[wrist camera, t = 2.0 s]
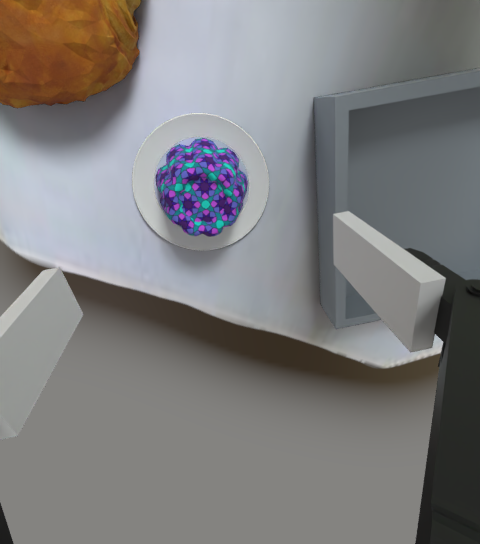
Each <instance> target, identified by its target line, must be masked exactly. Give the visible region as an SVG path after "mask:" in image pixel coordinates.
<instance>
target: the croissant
mask: <svg viewBox="0 0 480 544" xmlns="http://www.w3.org/2000/svg"><path fill="white" fill-rule="evenodd" d="M140 3H141V0H0V103H2V104H3V105H10V106H12V107H15V108H22V107H26V106H30V105H39V104H47V105H50V106H52V105H53V104H55V103H58V104H68V103H71V102H74V101H76V100H77V101H85V100H86V98H87V97H88V96H91V95H94V94H97V93H99V92H102V91H106V90H107V89H109V88H110V87H111V86H113V85H114V84H116V83H118V82H120V81H121V80H122V79H124V78H125V77H126V75H127V74H128V73H129V71H130V70H131V69H132V65H133V63H134V61H135V59H136V58H137V56H138V55H139V52H140V51H139V50H138V48H137V41H138V38H139V35H138V23H137V21H136V19H135V17H134V15H133V14H134V11H135V9H136V8H137V7H139V6H140Z"/></svg>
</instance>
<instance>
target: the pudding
mask: <svg viewBox="0 0 480 544" xmlns="http://www.w3.org/2000/svg"><path fill="white" fill-rule="evenodd" d="M193 137H207V138H212V139H215V140H218V141H221V142H222V143H224V144H226V145H228V146H229V147H230V148H231V149H232V150H234V151H235V152H236V153H237V155H238V156H239V157H240V158H241V160H242V162H243V164H244V165H245V168H246V171H247V174H248V179H249V193H248V199H247V201H246V204H245V206H244V208H243V210H242V212H241V213H240V210H241V208H242V206H243V203H242V201H243V198H244V196H245V194H246V191H247V185H248V181H247V178H246V175H245V174H244V173H243V172H242V171H240V170H239V159H238V158H237V156H236V154H235V153H234V152H233V151H231V150H230V149H228V148H219V149H218V148H217V146H216V145H215V144H214V142H213V141H211V140H208V139H205V138H202V139H195V140H194V141H193V143H192V144H191V145H190V146H185V145H180V144H179V145H177V146H175V147H173V148H171V147H172V146H173V145H175V144H176V143H178V142H180V141H183V140H185V139H189V138H193ZM170 148H171V150H170V151H169V152H168V154H167V158H166V165H165V166H163V167H161V168H160V169H158V172H157V175H156V185H157V187H158V189H159V191H160V193H161V199H160V203H161V205H162V208H163V210H164V211H165V213H166V215H167V216H168V217H167V216H166V215H165V213H164V212H163V211H162V209H161V207H160V205H159V203H158V201H157V198H156V195H155V189H154V176H155V172H156V168H157V166H158V163H159V161H160V159H161V158H162V157H163V155H164V154H165V153H166V152H167V151H168V150H169V149H170ZM132 187H133V193H134V198H135V201H136V204H137V207H138V209H139V211H140V213H141V214H142V216H143V218H144V220H145V221H146V222H147V223H148V225H149V226H150V227H151V228H152V229H153V230H154V231H155V232H156V233H157V234H158V235H159V236H161V237H162V238H164V239H165V240H167V241H168V242H170V243H172V244H175V245H177V246H179V247H183V248H186V249H190V250H199V251H205V250H215V249H219V248H223V247H226V246H228V245H231V244H233V243H235V242H236V241H238V240H240V239H241V238H243V237H244V236H245V235H246V234H247V233H249V232H250V231H251V229H252V228H253V227H254V226H255V225H256V224H257V222H258V220H259V219H260V217H261V215H262V213H263V211H264V208H265V206H266V203H267V198H268V194H269V175H268V169H267V165H266V162H265V159H264V156H263V154H262V152H261V150H260V149H259V147H258V145H257V144H256V143H255V141H254V140H253V139H252V137H251V136H250V135H249V134H248V133H247V132H246V131H244V130H243V129H242V128H241V127H240V126H238V125H236V124H235V123H233V122H232V121H230V120H228V119H225V118H222V117H220V116H217V115H212V114H206V113H190V114H185V115H181V116H177V117H175V118H172V119H170V120H168V121H166V122H164V123H163V124H161V125H160V126H158V127H157V128H155V130H154V131H153V132H152V133H151V134H150V135H149V136H148V137H147V138H146V139H145V141H144V142H143V144H142V145H141V147H140V149H139V151H138V153H137V156H136V158H135V162H134V167H133V172H132ZM239 213H240V214H239ZM238 215H239V216H238ZM178 225H180V226H181V227H180V226H178Z"/></svg>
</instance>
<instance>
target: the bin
mask: <svg viewBox="0 0 480 544" xmlns="http://www.w3.org/2000/svg"><path fill="white" fill-rule="evenodd" d="M314 117H315V148H316V179H317V210H318V241H319V273H320V304H321V306H322V308H323V309H324V311H325V312H326V314H327V316H328V317H329V319H330V321H331V322H332V324H333V326H334V327H335V329H339V328H344V327H349V326H354V325H359V324H364V323H369V322H373V321H378V320H382V319H381V318H380V317H379V316H378V315H377V314H376V312H375V311H374V310H373V309H372V308H371V307H370V306H369V304H368V303H367V302H366V301H365V300H364V299H363V297H362V296H361V295H360V294H359V293H358V292H357V291H356V289H355V288H354V287H353V286H352V285H351V284H350V282H349V281H348V280H347V279H346V278H345V277H344V276H343V274H342V273H341V272H340V271H339V270H338V269H337V267H336V266H335V265H334V258H333V214H336V213H341V212H346V211H349V212H351V213H352V214H354V215H355V216H357V217H358V218H359V219H361V220H362V221H364V222H365V223H367V224H368V225H370V226H371V227H372V228H374V229H375V230H377V231H378V232H380V233H381V234H383V235H384V236H385V237H387V238H388V239H390V240H391V241H393V242H394V243H396V244H397V245H399V246H400V247H401V248H403V249H406V248H412V249H415V250H418V251H421V252H424V253H425V254H427V255H428V256H430V257H431V258H433V260H436V261H437V262H439V263H440V264H441V265H444V266H445V267H447V268H448V269H450V270H451V271H453V272H455V273H456V274H458V275H459V276H461V277H462V278H464V279H465V280H470V279H478V280H480V68H475V69H470V70H464V71H459V72H453V73H448V74H442V75H437V76H431V77H426V78H420V79H415V80H409V81H404V82H398V83H392V84H387V85H381V86H376V87H370V88H365V89H359V90H354V91H348V92H343V93H337V94H332V95H326V96H321V97H315V98H314Z"/></svg>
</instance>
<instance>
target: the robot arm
mask: <svg viewBox="0 0 480 544" xmlns="http://www.w3.org/2000/svg"><path fill="white" fill-rule="evenodd" d="M333 258H334V265H335V266H336V267H337V269H338V270H339V271H340V272H341V273H342V274H343V276H344V277H345V278H346V279H347V280H348V281H349V282H350V284H351V285H352V286H353V287H354V288H355V289H356V291H357V292H358V293H359V294H360V295H361V296H362V297H363V299H364V300H365V301H366V302H367V303H368V304H369V306H370V307H371V308H372V309H373V310H374V311H375V312H376V314H377V315H378V316H379V317H380V318H381V319H382V320H383V322H384V323H385V324H386V325H387V326H388V327H389V329H390V330H391V331H392V332H393V333H394V334H395V335H396V337H397V338H398V339H399V340H400V341H401V342H402V344H403V345H404V346H405V347H406V348H407V349H408V350H409V352H415V351H420V350H424V349H429V348H432V346H433V341H434V336H435V334H436V335H437V336H438V337H439V338H440V339H441V340H442V341H443V347H442V351H441V356H440V360H439V365H438V366H439V375H438V381H437V390H436V396H435V403H434V411H433V418H432V426H431V433H430V440H429V448H428V455H427V462H426V470H425V477H424V485H423V492H422V499H421V506H420V514H419V521H418V529H417V536H416V543H415V544H480V280H478V279H470V280H465V279H464V278H462V277H461V276H459V275H458V274H456V273H455V272H453V271H451V270H450V269H448V268H447V267H445V266H444V265H441V264H440V263H439V262H437V261H436V260H433V258H431V257H430V256H428V255H427V254H425V253H424V252H421V251H418V250H415V249H412V248H406V249H403V248H401V247H400V246H399V245H397V244H396V243H394V242H393V241H391V240H390V239H388V238H387V237H385V236H384V235H383V234H381V233H380V232H378V231H377V230H375V229H374V228H372V227H371V226H370V225H368V224H367V223H365V222H364V221H362V220H361V219H359V218H358V217H357V216H355V215H354V214H352V213H351V212H349V211H346V212H341V213H336V214H333ZM82 316H83V313H82V311H81V309H80V307H79V305H78V303H77V301H76V299H75V297H74V295H73V293H72V291H71V289H70V287H69V285H68V283H67V281H66V279H65V277H64V275H63V273H62V271H61V269H60V267H59V268H54V269H48V270H44V271H42V272H41V274H40V275H39V276H38V277H37V278H36V279H35V280H34V281H33V282H32V283H31V284H30V286H29V287H28V288H27V289H26V290H25V291H24V292H23V293H22V294H21V295H20V296H19V297H18V299H17V300H16V301H15V302H14V303H13V304H12V305H11V306H10V307H9V308H8V309H7V310H6V311H5V312H4V313H3V315H2V316H1V317H0V440H1V439H6V438H11V437H16V436H18V435H19V433H20V431H21V429H22V427H23V425H24V423H25V422H26V420H27V418H28V416H29V414H30V413H31V411H32V409H33V407H34V405H35V403H36V401H37V399H38V398H39V396H40V394H41V392H42V390H43V388H44V387H45V385H46V383H47V381H48V379H49V377H50V375H51V374H52V372H53V370H54V368H55V366H56V364H57V362H58V361H59V359H60V357H61V355H62V353H63V351H64V349H65V347H66V346H67V344H68V342H69V340H70V338H71V336H72V335H73V333H74V331H75V329H76V327H77V325H78V323H79V322H80V320H81V318H82ZM0 544H13V541H12V538H11V534H10V531H9V528H8V525H7V522H6V519H5V516H4V513H3V510H2V506H1V503H0Z"/></svg>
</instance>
